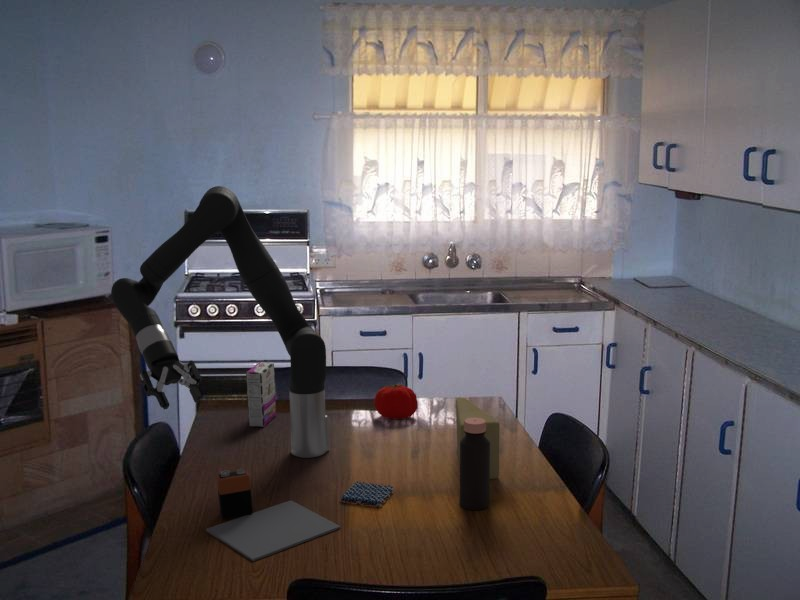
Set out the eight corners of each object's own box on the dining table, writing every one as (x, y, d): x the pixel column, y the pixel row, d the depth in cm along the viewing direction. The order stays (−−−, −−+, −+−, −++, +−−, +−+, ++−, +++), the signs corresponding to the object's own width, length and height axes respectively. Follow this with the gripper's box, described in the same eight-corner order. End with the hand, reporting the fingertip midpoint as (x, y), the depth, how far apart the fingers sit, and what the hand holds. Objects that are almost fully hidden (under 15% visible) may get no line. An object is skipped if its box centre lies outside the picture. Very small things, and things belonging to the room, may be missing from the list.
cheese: (441, 450, 240) (441, 396, 237) (477, 448, 242) (477, 394, 239) (461, 482, 219) (461, 423, 216) (500, 479, 220) (500, 420, 217)
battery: (219, 513, 202) (215, 470, 201) (250, 508, 204) (246, 465, 203) (222, 519, 198) (218, 476, 197) (253, 514, 200) (249, 470, 199)
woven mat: (396, 492, 214) (396, 484, 214) (380, 510, 204) (380, 502, 204) (355, 487, 217) (355, 479, 217) (338, 504, 207) (338, 496, 207)
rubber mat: (291, 502, 208) (290, 500, 208) (340, 528, 194) (340, 526, 194) (206, 531, 194) (205, 528, 194) (252, 561, 180) (252, 559, 180)
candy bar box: (261, 414, 271) (258, 361, 267) (277, 415, 270) (275, 362, 266) (247, 426, 260) (245, 371, 257) (264, 427, 259) (261, 372, 256)
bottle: (469, 513, 201) (470, 427, 197) (453, 502, 207) (454, 418, 203) (495, 507, 204) (496, 422, 200) (479, 496, 210) (479, 414, 206)
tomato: (417, 423, 262) (417, 389, 260) (373, 423, 262) (373, 389, 260) (417, 411, 273) (417, 378, 271) (375, 411, 273) (374, 378, 271)
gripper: (133, 343, 213) (159, 402, 206) (187, 334, 222) (214, 389, 216) (124, 361, 217) (150, 418, 211) (178, 351, 227) (204, 405, 221)
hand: (182, 403), depth 214 cm, fingers open, 7 cm apart
